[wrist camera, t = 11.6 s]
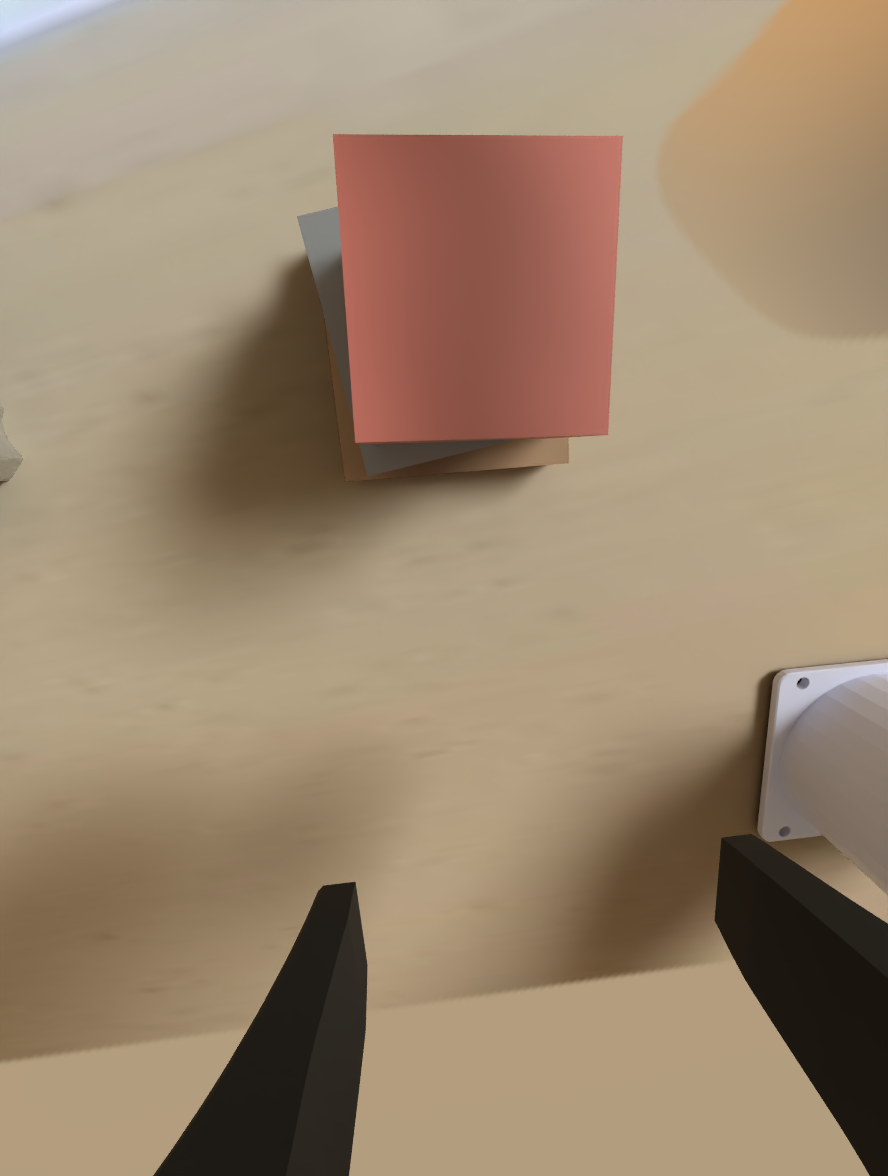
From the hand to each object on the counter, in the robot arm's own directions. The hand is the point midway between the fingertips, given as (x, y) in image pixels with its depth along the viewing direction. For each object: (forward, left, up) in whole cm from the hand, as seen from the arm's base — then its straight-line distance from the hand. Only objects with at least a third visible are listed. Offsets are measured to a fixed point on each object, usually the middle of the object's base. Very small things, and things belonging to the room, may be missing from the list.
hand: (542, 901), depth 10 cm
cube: (0, -11, -6) cm, 12 cm away
